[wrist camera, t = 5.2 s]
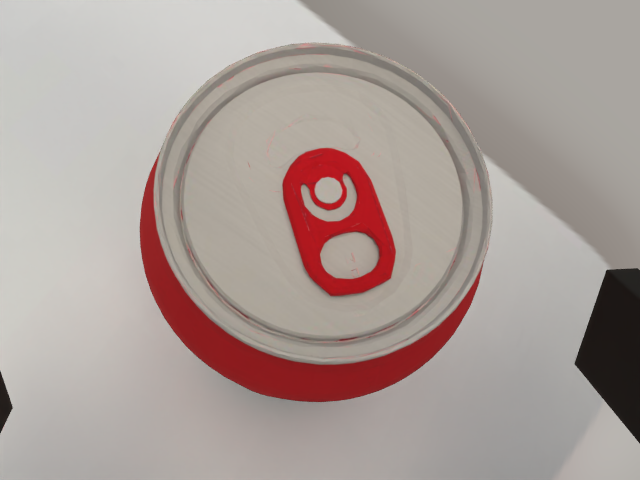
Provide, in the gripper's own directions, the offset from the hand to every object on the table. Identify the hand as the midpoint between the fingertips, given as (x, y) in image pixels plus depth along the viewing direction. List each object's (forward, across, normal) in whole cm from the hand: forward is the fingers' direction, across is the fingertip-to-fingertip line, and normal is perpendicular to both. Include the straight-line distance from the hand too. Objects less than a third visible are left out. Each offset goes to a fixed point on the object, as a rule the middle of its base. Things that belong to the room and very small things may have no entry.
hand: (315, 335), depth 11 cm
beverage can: (+7, 0, -4) cm, 8 cm away
